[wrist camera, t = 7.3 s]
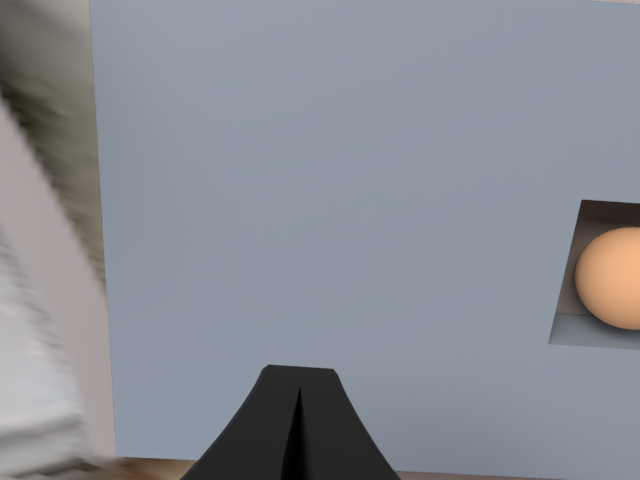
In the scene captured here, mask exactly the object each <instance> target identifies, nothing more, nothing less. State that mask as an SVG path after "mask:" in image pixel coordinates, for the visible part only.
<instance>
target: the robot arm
mask: <svg viewBox="0 0 640 480" xmlns="http://www.w3.org/2000/svg"><path fill="white" fill-rule="evenodd" d="M180 480H401V479H400V478H399V477H398V476H397V474H396V473H395V471H394V470H393V469H392V467H391V466H390V464H389V463H388V462H387V460H386V459H385V458H384V456H383V455H382V453H381V452H380V450H379V449H378V447H377V446H376V444H375V443H374V441H373V439H372V438H371V436H370V435H369V433H368V431H367V430H366V428H365V427H364V425H363V423H362V422H361V420H360V418H359V416H358V415H357V413H356V411H355V409H354V407H353V406H352V404H351V402H350V400H349V398H348V396H347V394H346V392H345V390H344V388H343V386H342V383H341V381H340V378H339V376H338V374H337V373H336V372H335V370H334V369H330V368H315V367H300V366H285V365H270V364H268V365H267V366H266V367H264V368H263V369H262V370H261V373H260V375H259V377H258V379H257V381H256V383H255V385H254V386H253V388H252V390H251V391H250V393H249V395H248V396H247V398H246V399H245V401H244V402H243V404H242V405H241V407H240V408H239V409H238V411H237V412H236V414H235V415H234V416H233V418H232V419H231V421H230V422H229V423H228V425H227V426H226V427H225V429H224V430H223V431H222V433H221V434H220V435H219V436H218V437H217V439H216V440H215V441H214V442H213V443H212V444H211V446H210V447H209V448H208V449H207V450H206V452H205V453H204V454H203V455H202V456H201V457H200V459H199V460H198V461H197V462H196V463H195V464H194V465H193V466H192V467H191V468H190V470H189V471H188V472H187V473H186V474H185V475H184V476H183V477H182V478H181V479H180Z"/></svg>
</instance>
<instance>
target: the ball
mask: <svg viewBox="0 0 640 480" xmlns="http://www.w3.org/2000/svg"><path fill="white" fill-rule="evenodd" d="M575 285H576V289H577V292H578V295H579V297H580V299H581V301H582V302H583V304H584V305H585V306H586V308H587V309H588V310H589V311H590V312H591V313H592V314H593V315H594V316H596V317H597V318H599V319H600V320H602V321H603V322H605V323H607V324H609V325H612V326H615V327H618V328H623V329H632V330H640V227H623V228H617V229H614V230H611V231H608V232H605V233H603V234H601V235H599V236H598V237H596V238H595V239H594V240H592V241H591V242H590V243H589V244H588V245H587V246H586V247H585V249H584V250H583V251H582V253H581V255H580V256H579V259H578V261H577V264H576V269H575Z"/></svg>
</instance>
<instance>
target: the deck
mask: <svg viewBox="0 0 640 480" xmlns="http://www.w3.org/2000/svg"><path fill="white" fill-rule="evenodd" d="M89 7H90V24H91V41H92V57H93V74H94V91H95V108H96V125H97V141H98V158H99V175H100V192H101V209H102V225H103V242H104V259H105V276H106V293H107V309H108V326H109V341H110V342H109V343H110V359H111V376H112V392H113V410H114V427H115V444H116V456H124V457H143V458H162V459H181V460H199V459H200V457H201V456H202V455H203V454H204V453H205V452H206V450H207V449H208V448H209V447H210V446H211V444H212V443H213V442H214V441H215V440H216V439H217V437H218V436H219V435H220V434H221V433H222V431H223V430H224V429H225V427H226V426H227V425H228V423H229V422H230V421H231V419H232V418H233V416H234V415H235V414H236V412H237V411H238V409H239V408H240V407H241V405H242V404H243V402H244V401H245V399H246V398H247V396H248V395H249V393H250V391H251V390H252V388H253V386H254V385H255V383H256V381H257V379H258V377H259V375H260V373H261V370H262V369H263V368H264V367H266V366H267V365H268V364H270V365H285V366H300V367H315V368H330V369H334V370H335V372H336V373H337V374H338V376H339V378H340V381H341V383H342V386H343V388H344V390H345V392H346V394H347V396H348V398H349V400H350V402H351V404H352V406H353V407H354V409H355V411H356V413H357V415H358V416H359V418H360V420H361V422H362V423H363V425H364V427H365V428H366V430H367V431H368V433H369V435H370V436H371V438H372V439H373V441H374V443H375V444H376V446H377V447H378V449H379V450H380V452H381V453H382V455H383V456H384V458H385V459H386V460H387V462H388V463H389V464H390V466H391V467H392V469H393V470H394V471H410V472H429V473H448V474H467V475H486V476H505V477H524V478H543V479H562V480H640V330H632V329H623V328H618V327H615V326H612V325H609V324H607V323H605V322H603V321H602V320H600V319H599V318H597V317H596V316H581V315H565V314H555V311H556V307H557V303H558V299H559V294H560V290H561V286H562V281H563V277H564V273H565V269H566V264H567V260H568V256H569V251H570V247H571V243H572V239H573V234H574V230H575V226H576V221H577V217H578V213H579V208H580V204H581V200H582V199H583V200H598V201H612V202H627V203H640V4H628V3H615V2H602V1H590V0H89Z"/></svg>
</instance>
